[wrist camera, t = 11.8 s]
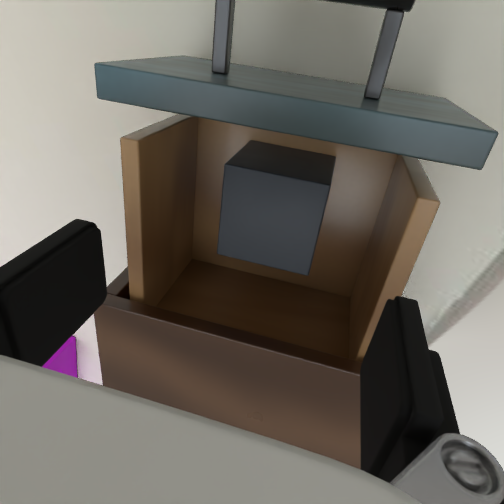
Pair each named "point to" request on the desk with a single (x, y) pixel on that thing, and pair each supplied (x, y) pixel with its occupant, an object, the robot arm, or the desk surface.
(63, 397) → the robot arm
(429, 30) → the desk surface
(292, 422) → the cabinet
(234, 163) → the block
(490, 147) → the drawer
